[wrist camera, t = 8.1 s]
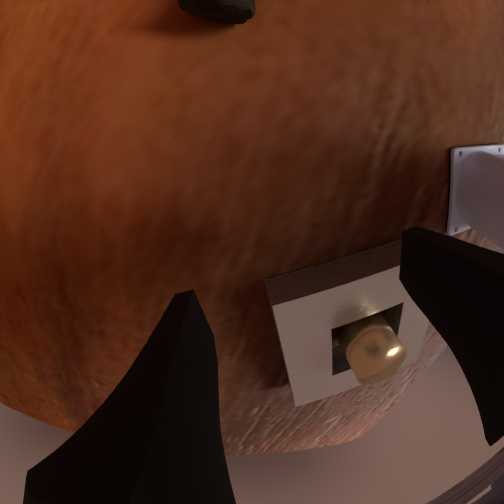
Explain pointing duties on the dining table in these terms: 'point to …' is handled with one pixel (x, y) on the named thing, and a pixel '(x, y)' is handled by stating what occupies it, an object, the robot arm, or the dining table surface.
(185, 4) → the hand tool
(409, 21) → the dining table surface
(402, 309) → the square stone frame
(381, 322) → the cylinder
